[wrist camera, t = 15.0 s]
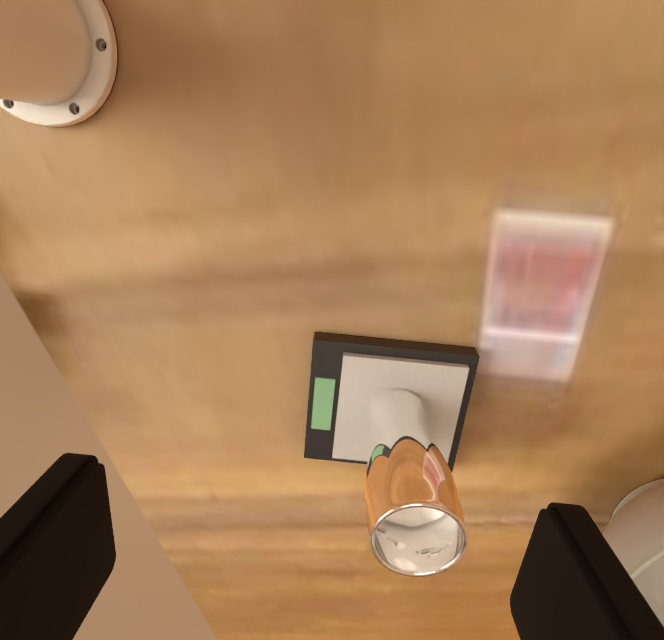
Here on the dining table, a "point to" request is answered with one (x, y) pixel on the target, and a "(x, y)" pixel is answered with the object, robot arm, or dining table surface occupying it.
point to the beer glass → (410, 491)
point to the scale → (377, 377)
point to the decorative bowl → (641, 541)
